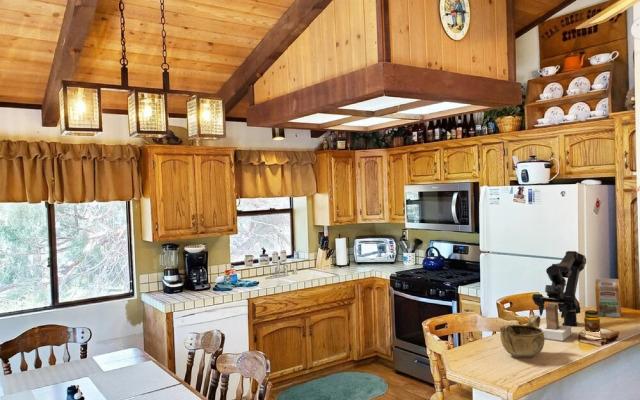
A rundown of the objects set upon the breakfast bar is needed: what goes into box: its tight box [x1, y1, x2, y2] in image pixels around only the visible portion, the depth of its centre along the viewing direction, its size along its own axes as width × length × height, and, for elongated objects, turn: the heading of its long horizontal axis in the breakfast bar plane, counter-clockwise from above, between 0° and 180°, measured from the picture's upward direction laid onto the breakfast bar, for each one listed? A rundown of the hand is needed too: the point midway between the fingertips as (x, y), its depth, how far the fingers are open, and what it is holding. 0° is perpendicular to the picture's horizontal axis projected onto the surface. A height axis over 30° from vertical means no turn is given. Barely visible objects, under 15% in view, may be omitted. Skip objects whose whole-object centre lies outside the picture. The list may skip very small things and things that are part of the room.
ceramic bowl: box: [499, 314, 545, 359], centre depth 208 cm, size 22×17×15 cm
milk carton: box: [594, 278, 622, 319], centre depth 263 cm, size 10×11×19 cm
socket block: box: [539, 323, 572, 343], centre depth 232 cm, size 12×12×4 cm
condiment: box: [583, 309, 601, 332], centre depth 227 cm, size 7×8×12 cm
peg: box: [544, 303, 560, 330], centre depth 232 cm, size 4×4×14 cm
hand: (551, 316), depth 231 cm, fingers open, 9 cm apart
